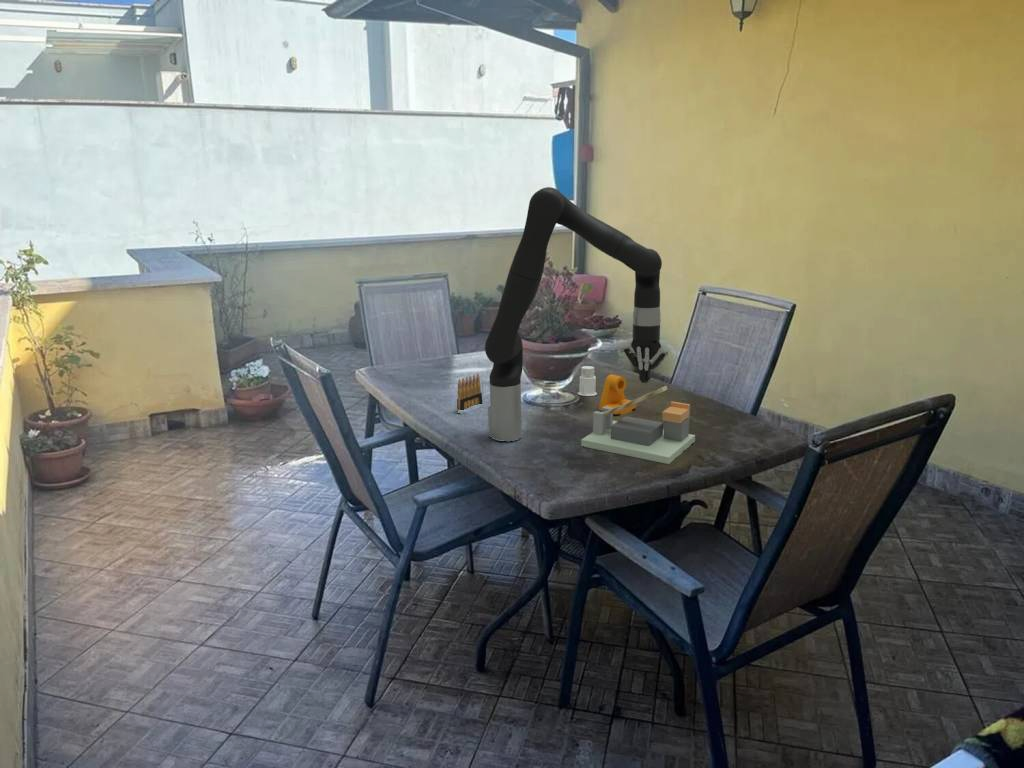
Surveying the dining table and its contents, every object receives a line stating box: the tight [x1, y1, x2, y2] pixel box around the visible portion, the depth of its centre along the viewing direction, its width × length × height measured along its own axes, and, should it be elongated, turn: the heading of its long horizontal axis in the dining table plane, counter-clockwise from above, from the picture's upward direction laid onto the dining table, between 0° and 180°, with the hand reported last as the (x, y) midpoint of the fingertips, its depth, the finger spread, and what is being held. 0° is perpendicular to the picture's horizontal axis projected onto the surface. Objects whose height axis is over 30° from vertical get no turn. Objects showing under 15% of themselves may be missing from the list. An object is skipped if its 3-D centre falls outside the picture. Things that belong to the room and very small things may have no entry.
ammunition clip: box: [456, 373, 483, 410], centre depth 242 cm, size 11×2×12 cm, turn 139°
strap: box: [604, 385, 668, 417], centre depth 207 cm, size 23×3×2 cm, turn 55°
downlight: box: [577, 365, 598, 397], centre depth 257 cm, size 8×7×10 cm
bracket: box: [598, 373, 637, 416], centre depth 238 cm, size 11×7×12 cm, turn 130°
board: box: [580, 406, 696, 465], centre depth 208 cm, size 27×20×8 cm
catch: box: [661, 401, 691, 423], centre depth 206 cm, size 6×7×4 cm
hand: (644, 382), depth 203 cm, fingers closed
